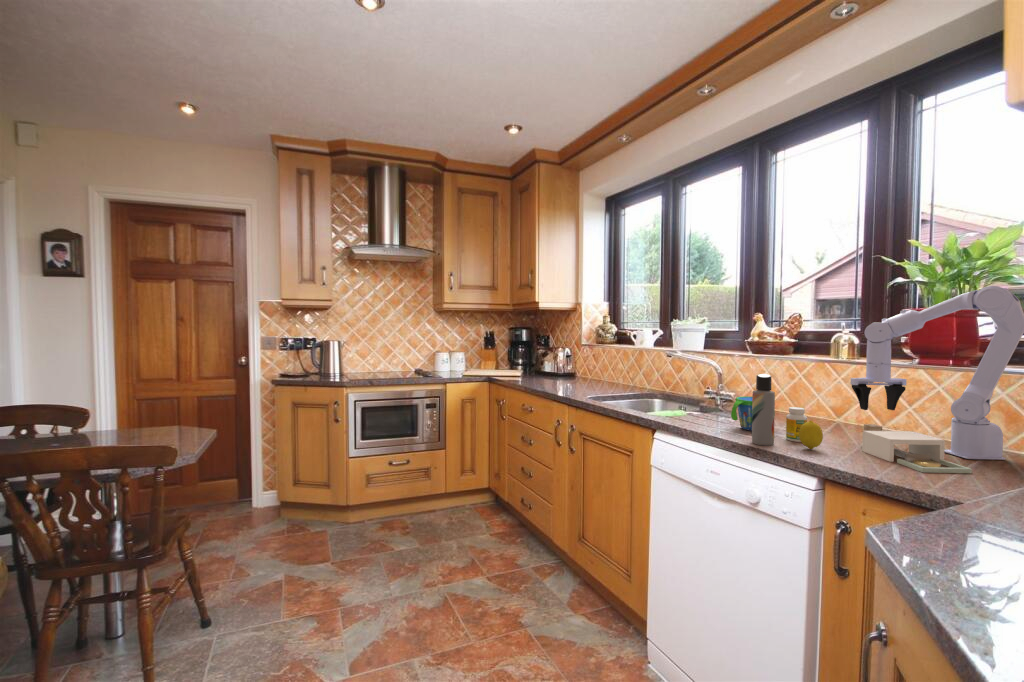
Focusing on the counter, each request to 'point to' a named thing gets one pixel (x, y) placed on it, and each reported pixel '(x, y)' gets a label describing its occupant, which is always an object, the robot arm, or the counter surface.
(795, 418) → the supplement bottle
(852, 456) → the counter surface
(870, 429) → the push slider
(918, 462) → the token
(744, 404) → the snack cup
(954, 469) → the tray
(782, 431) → the counter surface
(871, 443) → the ivory tunnel cover
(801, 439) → the lemon
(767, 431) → the lotion bottle
